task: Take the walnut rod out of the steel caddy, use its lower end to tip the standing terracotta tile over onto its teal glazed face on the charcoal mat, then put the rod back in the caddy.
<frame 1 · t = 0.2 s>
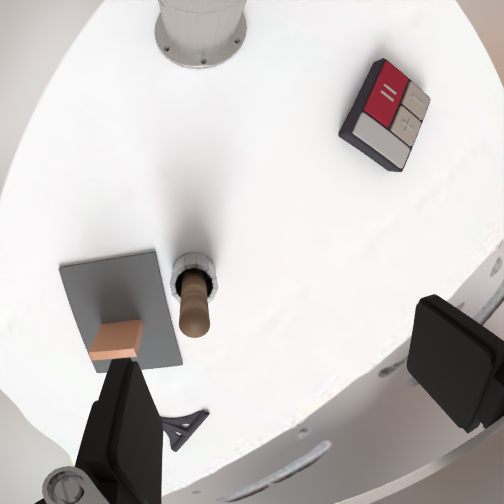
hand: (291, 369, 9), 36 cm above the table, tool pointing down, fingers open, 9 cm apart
rod: (194, 274, 45), point 1 cm above the table, touching caddy
bracket: (160, 417, 55), on the table
tile: (122, 326, 46), resting on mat
caddy: (194, 272, 46), on the table
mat: (121, 319, 46), on the table
calculator: (382, 115, 44), on the table
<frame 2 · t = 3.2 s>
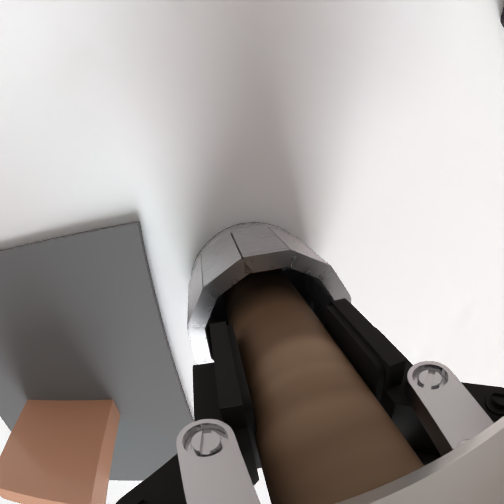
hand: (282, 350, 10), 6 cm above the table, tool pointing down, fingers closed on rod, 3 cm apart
rod: (255, 289, 15), point 1 cm above the table, touching caddy, gripper
tile: (71, 409, 16), resting on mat
caddy: (251, 282, 16), on the table
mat: (67, 393, 16), on the table
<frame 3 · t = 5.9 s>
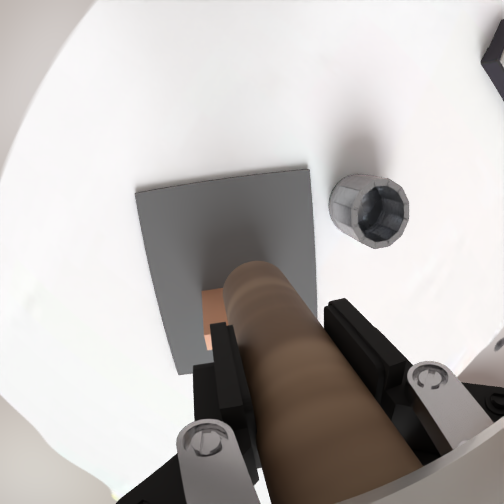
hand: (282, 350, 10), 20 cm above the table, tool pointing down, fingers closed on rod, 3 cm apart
rod: (255, 292, 15), point 15 cm above the table, touching gripper
tile: (238, 292, 31), resting on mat
caddy: (356, 204, 31), on the table
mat: (236, 281, 31), on the table
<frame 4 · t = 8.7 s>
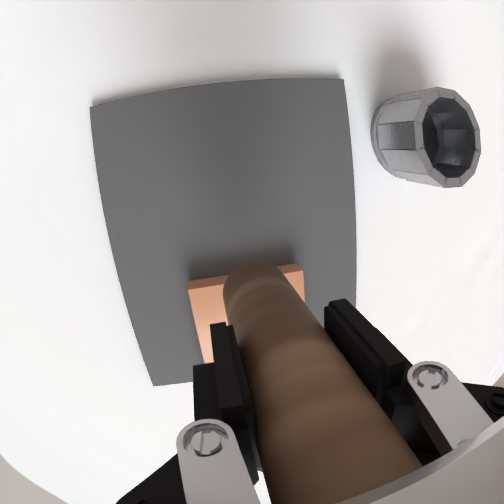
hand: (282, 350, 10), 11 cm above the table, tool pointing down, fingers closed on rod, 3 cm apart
rod: (255, 292, 15), point 5 cm above the table, touching gripper
tile: (244, 275, 19), point 1 cm above the table, tilted 90°, touching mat
caddy: (405, 137, 20), on the table
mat: (238, 242, 20), on the table
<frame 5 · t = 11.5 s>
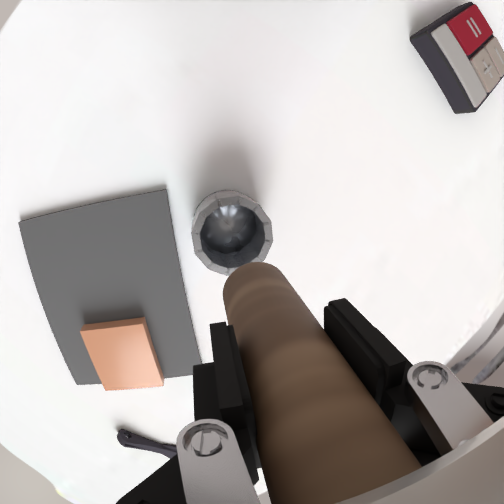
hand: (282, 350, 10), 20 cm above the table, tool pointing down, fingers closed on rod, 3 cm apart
rod: (255, 293, 15), point 15 cm above the table, touching gripper
bracket: (168, 444, 38), on the table
tile: (111, 323, 29), point 1 cm above the table, tilted 90°, touching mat
caddy: (226, 223, 29), on the table
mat: (109, 302, 29), on the table
calculator: (457, 54, 28), on the table
when the fingers open (7 cm above the table, at t = 13.9 s): rod stays where it is, resting on caddy.
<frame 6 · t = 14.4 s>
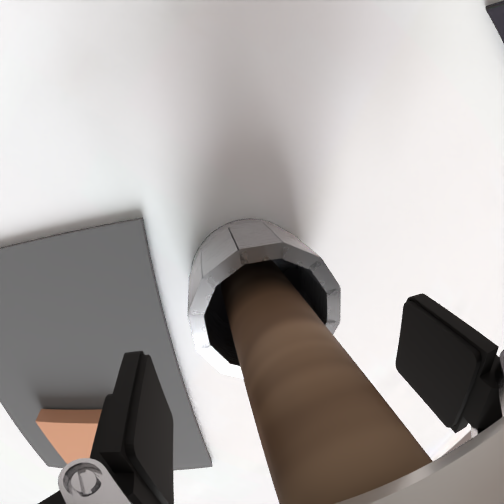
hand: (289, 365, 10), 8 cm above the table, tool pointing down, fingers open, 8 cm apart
rod: (252, 284, 16), point 1 cm above the table, touching caddy
tile: (77, 415, 17), point 1 cm above the table, tilted 90°, touching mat
caddy: (248, 275, 17), on the table
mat: (71, 384, 17), on the table
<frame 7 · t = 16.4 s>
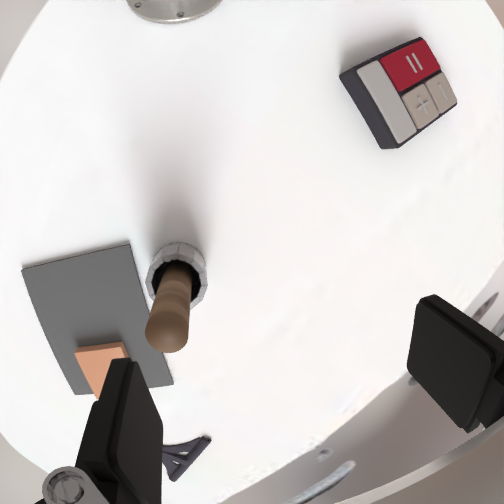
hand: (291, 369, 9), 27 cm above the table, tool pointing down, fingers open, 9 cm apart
rod: (178, 272, 35), point 1 cm above the table, touching caddy
bracket: (153, 444, 44), on the table
tile: (97, 347, 36), point 1 cm above the table, tilted 90°, touching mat
caddy: (178, 268, 36), on the table
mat: (95, 330, 36), on the table
calculator: (397, 91, 35), on the table
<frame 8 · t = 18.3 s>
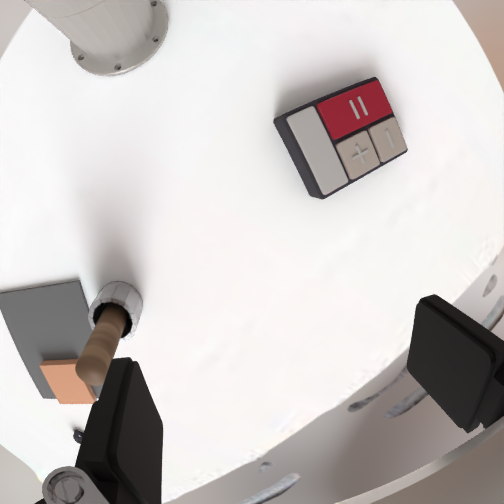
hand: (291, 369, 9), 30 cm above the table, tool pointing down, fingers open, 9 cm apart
rod: (119, 307, 38), point 1 cm above the table, touching caddy
tile: (58, 362, 39), point 1 cm above the table, tilted 90°, touching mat
caddy: (120, 303, 39), on the table
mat: (56, 347, 39), on the table
calculator: (339, 135, 38), on the table
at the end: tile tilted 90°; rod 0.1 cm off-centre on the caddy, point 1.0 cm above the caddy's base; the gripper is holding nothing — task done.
